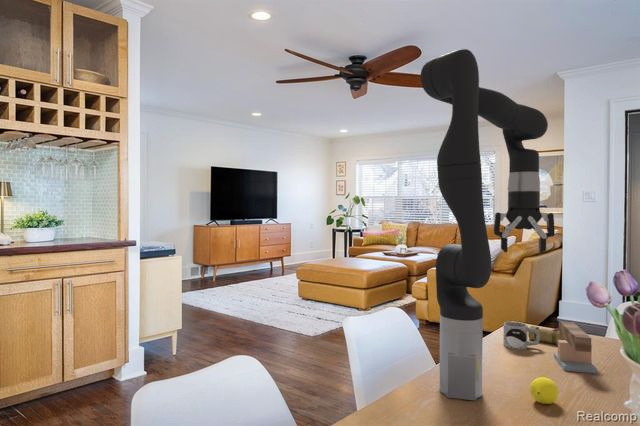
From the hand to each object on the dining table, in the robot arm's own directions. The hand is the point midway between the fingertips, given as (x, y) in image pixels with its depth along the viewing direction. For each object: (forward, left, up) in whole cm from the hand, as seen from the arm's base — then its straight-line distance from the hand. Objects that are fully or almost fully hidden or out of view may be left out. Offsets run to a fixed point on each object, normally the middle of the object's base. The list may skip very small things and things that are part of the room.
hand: (523, 252), depth 116 cm
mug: (+20, -3, -30) cm, 37 cm away
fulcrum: (+7, -14, -30) cm, 34 cm away
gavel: (+35, -16, -31) cm, 49 cm away
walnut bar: (+7, -14, -24) cm, 29 cm away
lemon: (-21, -1, -30) cm, 37 cm away
